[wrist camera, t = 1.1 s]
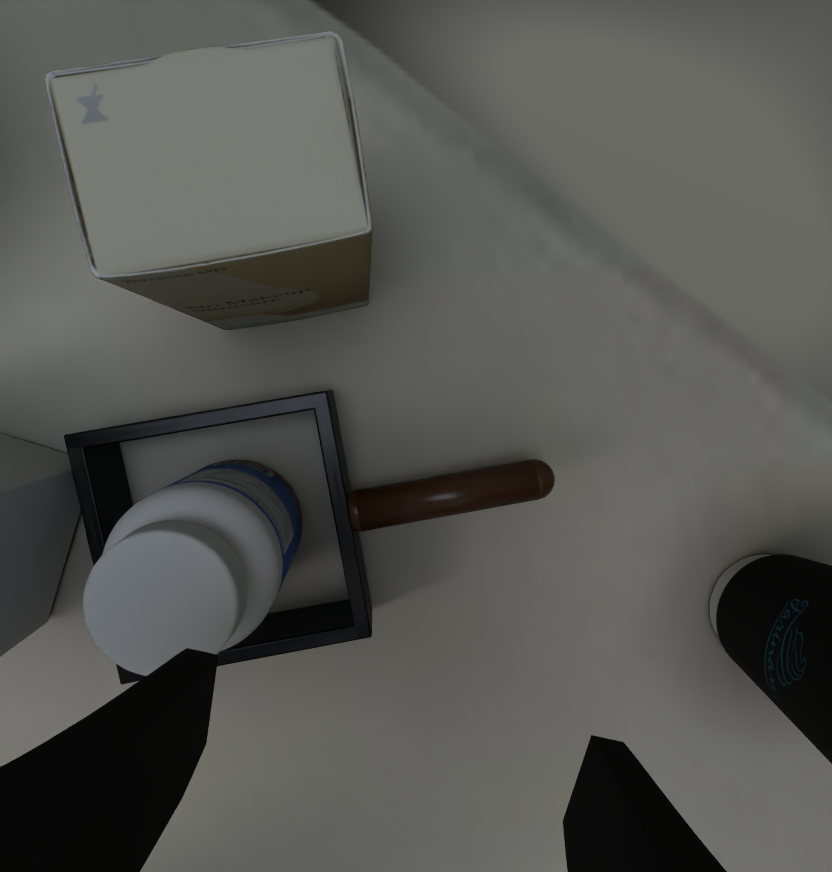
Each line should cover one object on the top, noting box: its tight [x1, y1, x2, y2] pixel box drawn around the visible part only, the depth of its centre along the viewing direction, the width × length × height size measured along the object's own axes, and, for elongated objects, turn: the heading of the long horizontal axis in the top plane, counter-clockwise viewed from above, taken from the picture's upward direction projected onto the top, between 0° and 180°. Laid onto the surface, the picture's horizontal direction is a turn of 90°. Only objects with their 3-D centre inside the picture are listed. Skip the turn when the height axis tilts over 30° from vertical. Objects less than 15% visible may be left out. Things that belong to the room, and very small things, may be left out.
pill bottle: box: [83, 460, 302, 676], centre depth 20 cm, size 6×5×10 cm
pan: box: [64, 390, 555, 684], centre depth 24 cm, size 18×10×3 cm, turn 100°
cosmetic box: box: [45, 32, 373, 330], centre depth 18 cm, size 6×4×12 cm
